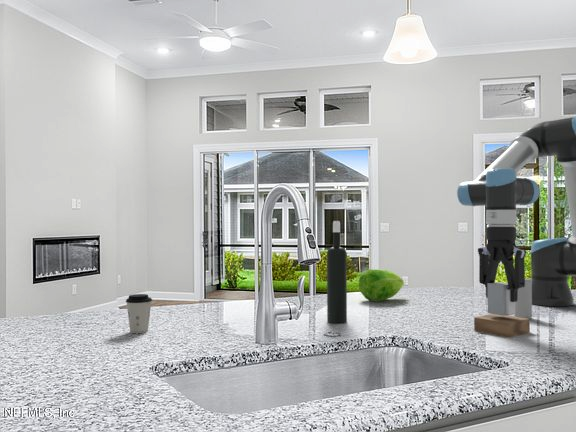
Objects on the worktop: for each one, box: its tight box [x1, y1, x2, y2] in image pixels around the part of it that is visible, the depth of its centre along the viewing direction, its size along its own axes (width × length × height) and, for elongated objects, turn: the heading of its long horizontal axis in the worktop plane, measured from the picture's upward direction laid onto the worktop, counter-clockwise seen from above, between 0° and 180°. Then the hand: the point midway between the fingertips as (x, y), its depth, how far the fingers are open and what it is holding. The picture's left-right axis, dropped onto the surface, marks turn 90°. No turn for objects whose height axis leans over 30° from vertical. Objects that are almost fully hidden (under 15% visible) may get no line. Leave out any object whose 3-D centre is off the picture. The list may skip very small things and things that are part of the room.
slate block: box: [486, 281, 516, 316], centre depth 139 cm, size 5×5×8 cm
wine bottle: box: [326, 220, 348, 325], centre depth 153 cm, size 6×6×30 cm
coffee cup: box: [125, 293, 153, 335], centre depth 140 cm, size 7×7×10 cm
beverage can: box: [514, 277, 533, 319], centre depth 157 cm, size 5×5×12 cm
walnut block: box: [473, 313, 531, 338], centre depth 139 cm, size 10×10×4 cm
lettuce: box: [358, 268, 405, 303], centre depth 193 cm, size 14×20×12 cm
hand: (501, 312), depth 139 cm, fingers closed on slate block, 5 cm apart
